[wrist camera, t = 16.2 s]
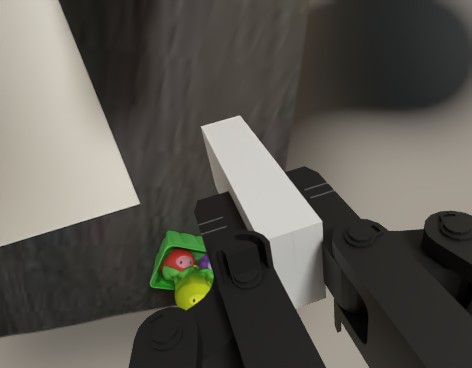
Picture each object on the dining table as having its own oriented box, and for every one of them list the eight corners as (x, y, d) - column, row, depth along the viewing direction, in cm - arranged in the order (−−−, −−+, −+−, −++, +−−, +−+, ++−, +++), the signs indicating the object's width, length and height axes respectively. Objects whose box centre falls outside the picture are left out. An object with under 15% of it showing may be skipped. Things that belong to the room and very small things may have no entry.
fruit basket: (233, 234, 58) (257, 289, 48) (210, 277, 61) (229, 335, 52) (162, 220, 53) (173, 279, 43) (142, 267, 56) (148, 330, 47)
